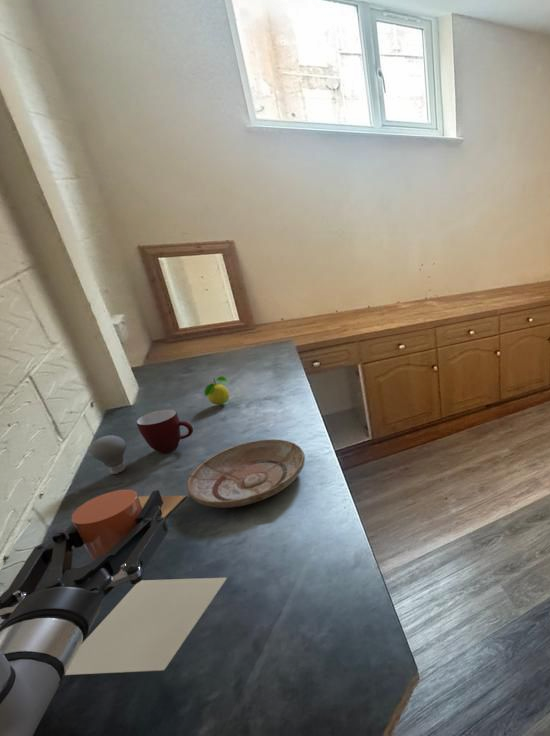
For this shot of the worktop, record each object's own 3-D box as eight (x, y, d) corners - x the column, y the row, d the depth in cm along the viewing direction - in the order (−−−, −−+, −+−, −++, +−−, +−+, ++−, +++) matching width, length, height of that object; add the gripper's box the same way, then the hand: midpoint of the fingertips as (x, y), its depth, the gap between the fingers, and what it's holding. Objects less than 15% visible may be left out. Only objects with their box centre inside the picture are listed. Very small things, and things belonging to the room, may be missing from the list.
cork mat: (90, 536, 79) (89, 534, 79) (135, 498, 90) (135, 496, 89) (148, 535, 80) (147, 533, 80) (186, 497, 90) (186, 495, 90)
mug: (199, 435, 113) (190, 404, 109) (195, 450, 107) (185, 417, 103) (152, 445, 108) (140, 413, 104) (144, 461, 102) (132, 428, 98)
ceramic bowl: (196, 538, 80) (189, 518, 78) (190, 477, 96) (184, 460, 95) (318, 489, 94) (315, 472, 92) (294, 443, 110) (291, 428, 109)
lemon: (232, 398, 134) (225, 371, 130) (234, 405, 129) (227, 377, 126) (207, 404, 130) (199, 376, 126) (209, 411, 125) (201, 382, 122)
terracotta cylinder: (82, 576, 59) (56, 524, 55) (123, 538, 65) (101, 489, 62) (132, 574, 59) (109, 523, 56) (167, 537, 66) (149, 488, 62)
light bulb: (110, 466, 99) (96, 432, 96) (139, 462, 101) (126, 429, 98) (95, 481, 94) (79, 446, 91) (126, 477, 96) (112, 442, 92)
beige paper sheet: (55, 679, 56) (52, 675, 56) (140, 583, 70) (139, 580, 70) (165, 673, 57) (164, 670, 57) (228, 580, 71) (227, 577, 71)
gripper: (-73, 699, 42) (54, 539, 62) (160, 627, 50) (208, 504, 69) (-111, 653, 40) (34, 501, 59) (142, 585, 47) (196, 469, 67)
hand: (128, 503), depth 64 cm, fingers closed on terracotta cylinder, 7 cm apart
